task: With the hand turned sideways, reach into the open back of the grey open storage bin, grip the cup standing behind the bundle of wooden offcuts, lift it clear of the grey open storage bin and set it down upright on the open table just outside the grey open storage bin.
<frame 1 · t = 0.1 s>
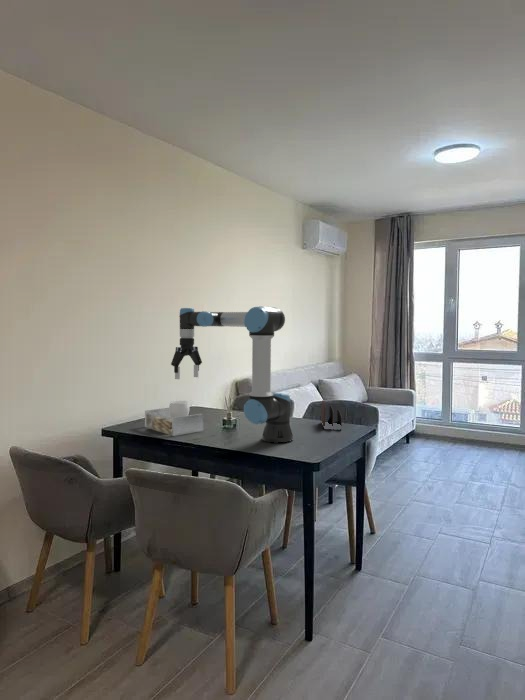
hand: (186, 378, 263), 28 cm above the table, tool pointing down, fingers open, 13 cm apart
cup: (179, 430, 266), on the table
letter holder: (331, 427, 279), on the table
grey open storage bin: (173, 431, 263), on the table
offcut bundle: (164, 430, 259), point 1 cm above the table, touching grey open storage bin
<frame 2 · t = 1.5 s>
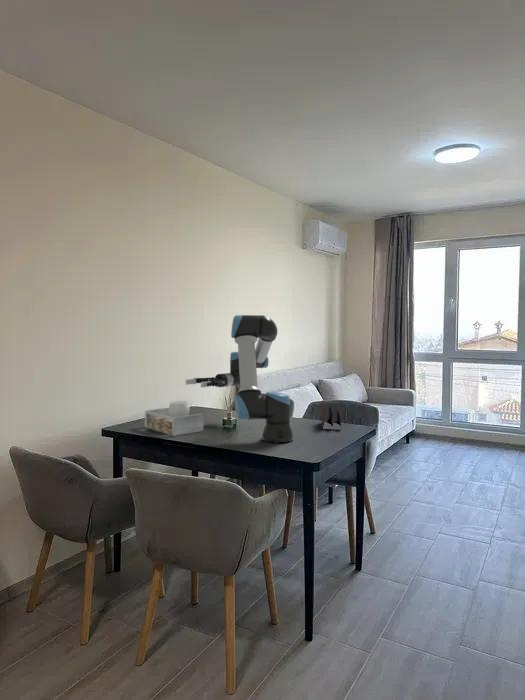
hand: (193, 383, 270), 24 cm above the table, tool horizontal, fingers open, 13 cm apart
nothing on the table moved.
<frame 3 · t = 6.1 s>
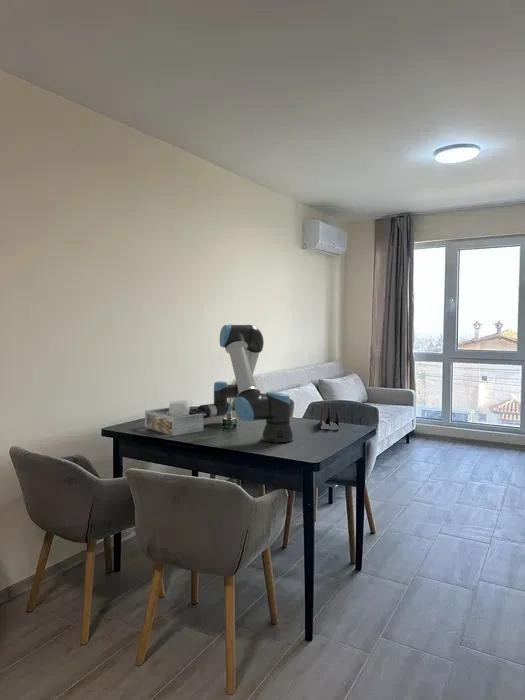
hand: (172, 416, 262), 8 cm above the table, tool horizontal, fingers closed on cup, 10 cm apart
cup: (179, 430, 266), on the table, touching gripper
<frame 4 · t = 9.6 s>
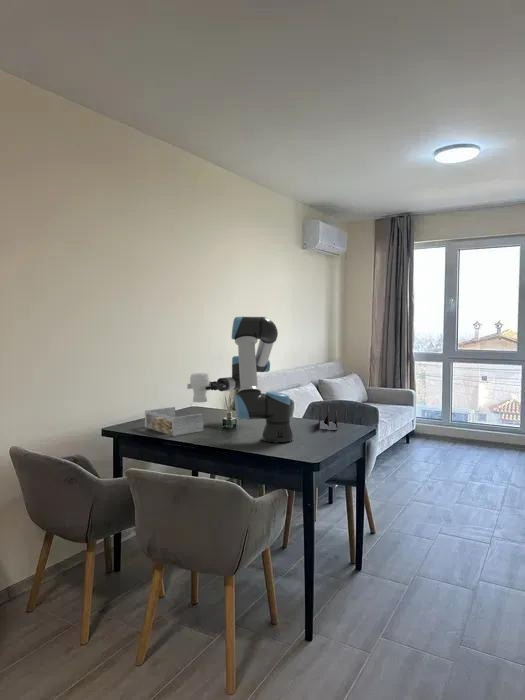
hand: (193, 387, 271), 22 cm above the table, tool horizontal, fingers closed on cup, 10 cm apart
cup: (199, 401, 274), point 14 cm above the table, touching gripper
when the fingers open (9 cm above the table, at t = 13.0 s): cup drops 1 cm, on the table.
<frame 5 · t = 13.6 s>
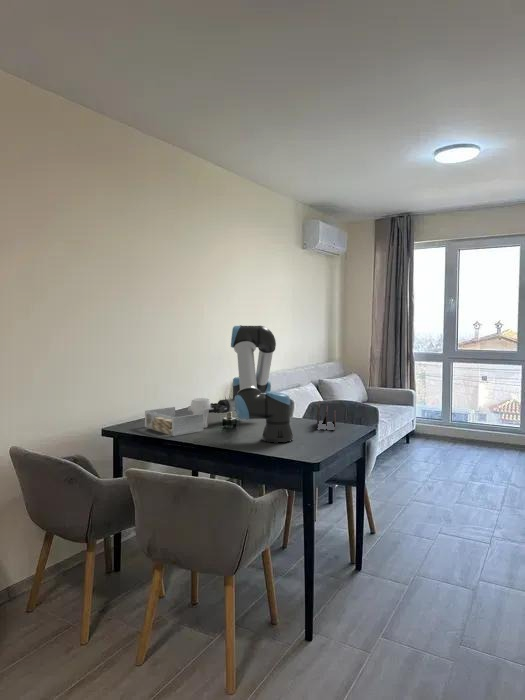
hand: (195, 410, 272), 9 cm above the table, tool horizontal, fingers open, 13 cm apart
cup: (200, 426, 275), on the table
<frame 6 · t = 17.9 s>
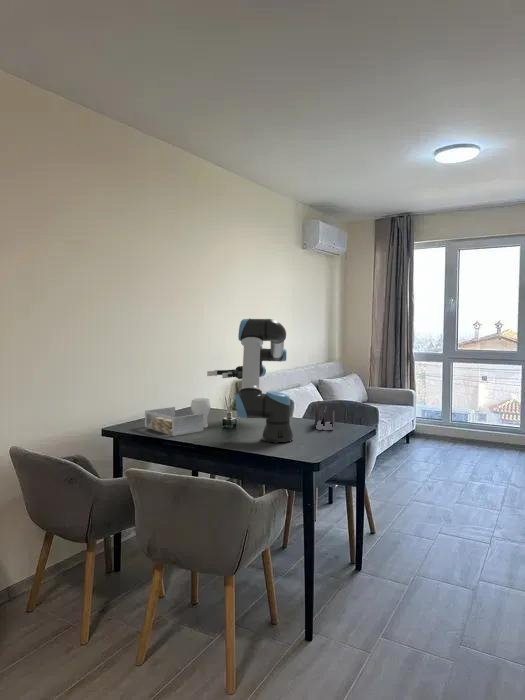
hand: (214, 374, 280), 28 cm above the table, tool horizontal, fingers open, 13 cm apart
at the end: cup inside the target area (0.1 cm from its centre), on the table; cup tilted 0°; the gripper is holding nothing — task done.
